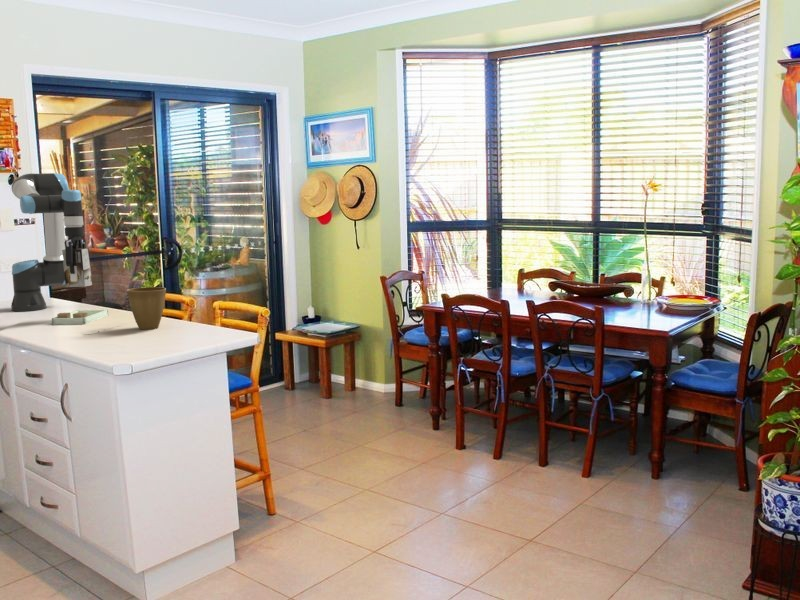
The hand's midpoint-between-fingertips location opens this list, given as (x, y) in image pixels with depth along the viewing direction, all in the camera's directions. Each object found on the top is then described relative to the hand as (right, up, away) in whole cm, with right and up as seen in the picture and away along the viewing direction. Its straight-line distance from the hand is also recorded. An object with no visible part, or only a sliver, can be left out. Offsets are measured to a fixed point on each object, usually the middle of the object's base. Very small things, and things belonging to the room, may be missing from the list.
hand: (78, 280), depth 325 cm
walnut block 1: (-2, -18, -8) cm, 20 cm away
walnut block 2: (+5, -18, -9) cm, 20 cm away
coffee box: (0, -3, 0) cm, 3 cm away
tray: (+2, -18, -1) cm, 18 cm away
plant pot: (+37, -20, -19) cm, 46 cm away
